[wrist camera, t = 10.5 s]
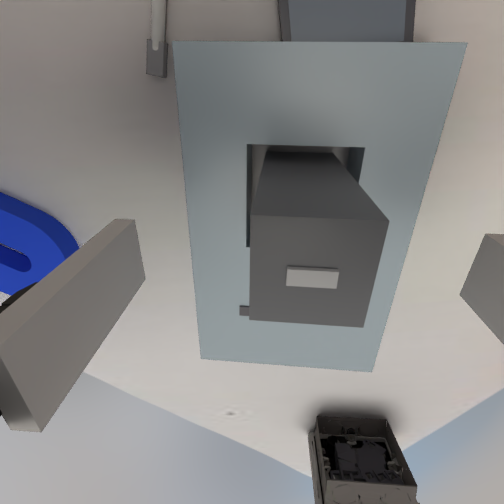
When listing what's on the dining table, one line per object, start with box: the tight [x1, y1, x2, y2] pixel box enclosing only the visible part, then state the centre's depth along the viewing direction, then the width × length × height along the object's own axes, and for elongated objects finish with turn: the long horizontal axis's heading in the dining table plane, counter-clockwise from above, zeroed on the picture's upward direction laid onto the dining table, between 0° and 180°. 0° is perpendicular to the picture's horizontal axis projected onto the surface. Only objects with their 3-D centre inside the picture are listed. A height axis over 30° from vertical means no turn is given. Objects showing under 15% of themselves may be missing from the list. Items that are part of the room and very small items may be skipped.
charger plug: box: [249, 151, 390, 328], centre depth 16 cm, size 4×4×12 cm
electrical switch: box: [308, 416, 420, 504], centre depth 30 cm, size 9×5×9 cm, turn 92°
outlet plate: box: [172, 41, 468, 372], centre depth 21 cm, size 14×22×4 cm, turn 179°
